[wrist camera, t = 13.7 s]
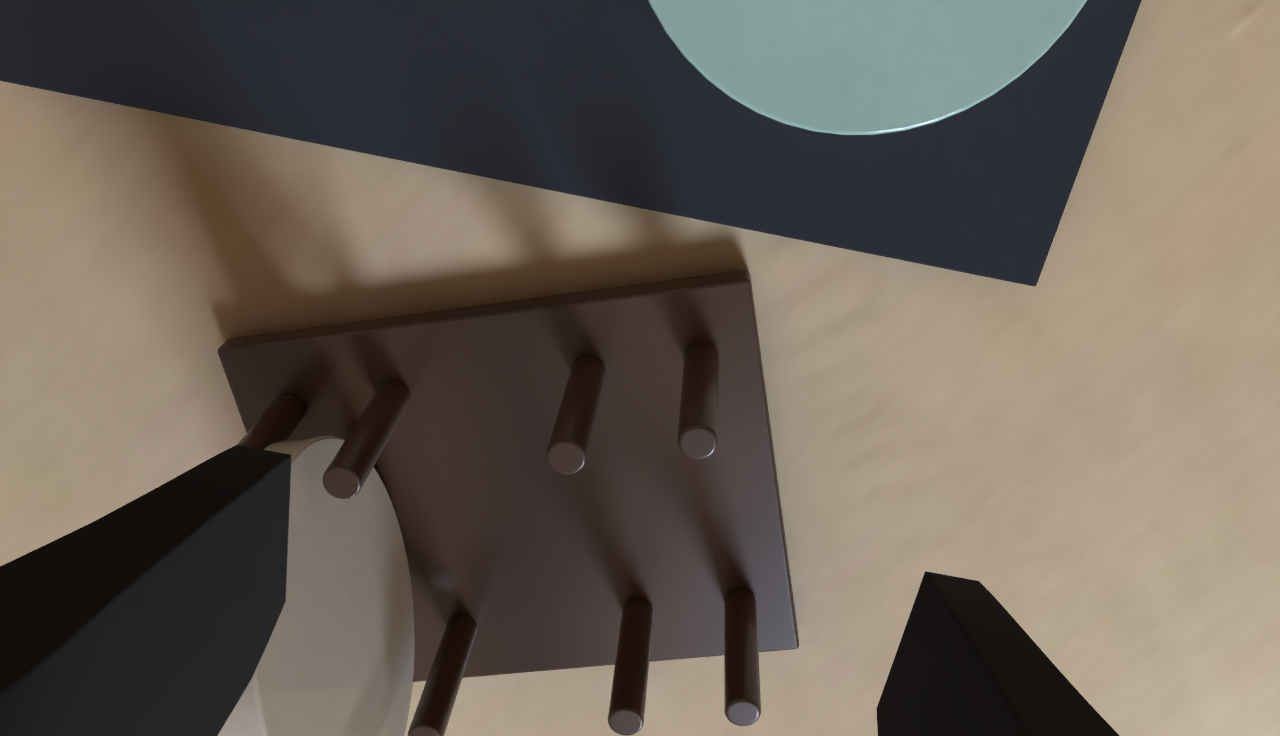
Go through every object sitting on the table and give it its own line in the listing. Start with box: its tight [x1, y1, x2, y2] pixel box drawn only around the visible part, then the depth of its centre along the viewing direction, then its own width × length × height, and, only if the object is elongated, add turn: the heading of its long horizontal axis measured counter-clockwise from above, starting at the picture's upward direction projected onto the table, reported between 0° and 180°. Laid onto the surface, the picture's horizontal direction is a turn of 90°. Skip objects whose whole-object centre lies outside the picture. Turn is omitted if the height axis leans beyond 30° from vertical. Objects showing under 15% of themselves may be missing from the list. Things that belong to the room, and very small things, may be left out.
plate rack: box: [218, 270, 799, 736], centre depth 22 cm, size 11×9×4 cm
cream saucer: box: [218, 435, 415, 736], centre depth 21 cm, size 1×7×7 cm, turn 10°
